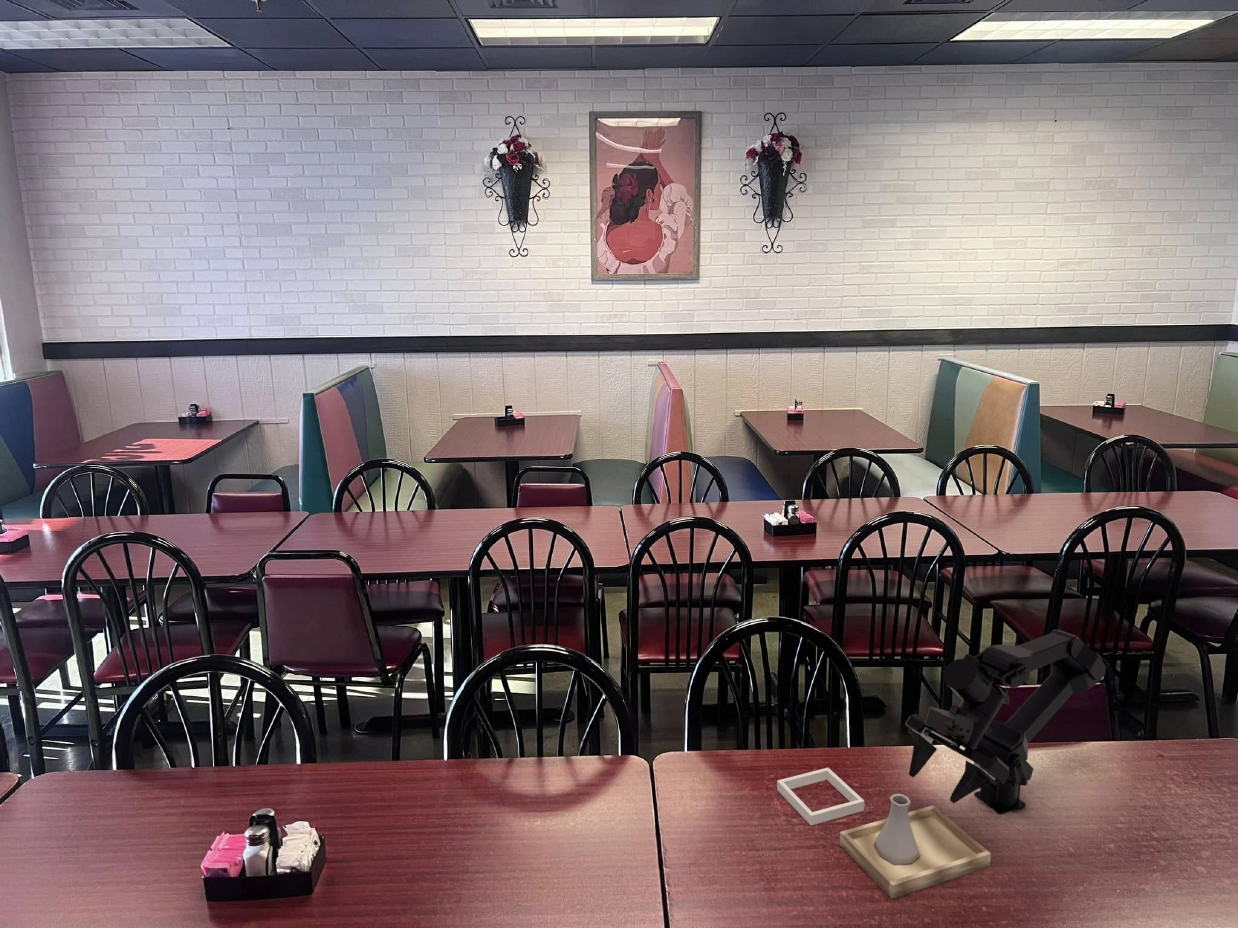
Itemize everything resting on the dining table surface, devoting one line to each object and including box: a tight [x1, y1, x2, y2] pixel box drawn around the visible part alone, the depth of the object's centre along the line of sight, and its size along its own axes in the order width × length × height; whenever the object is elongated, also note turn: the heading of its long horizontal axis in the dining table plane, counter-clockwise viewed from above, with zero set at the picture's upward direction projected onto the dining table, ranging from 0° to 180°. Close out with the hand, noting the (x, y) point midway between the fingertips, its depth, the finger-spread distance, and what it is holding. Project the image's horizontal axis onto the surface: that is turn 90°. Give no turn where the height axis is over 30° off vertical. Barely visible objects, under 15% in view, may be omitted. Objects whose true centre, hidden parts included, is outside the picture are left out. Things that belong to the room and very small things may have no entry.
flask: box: [874, 793, 920, 864], centre depth 140 cm, size 7×7×10 cm
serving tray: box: [839, 804, 992, 900], centre depth 141 cm, size 20×14×2 cm
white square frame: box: [776, 767, 866, 826], centre depth 156 cm, size 12×12×2 cm
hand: (930, 788), depth 143 cm, fingers open, 9 cm apart
